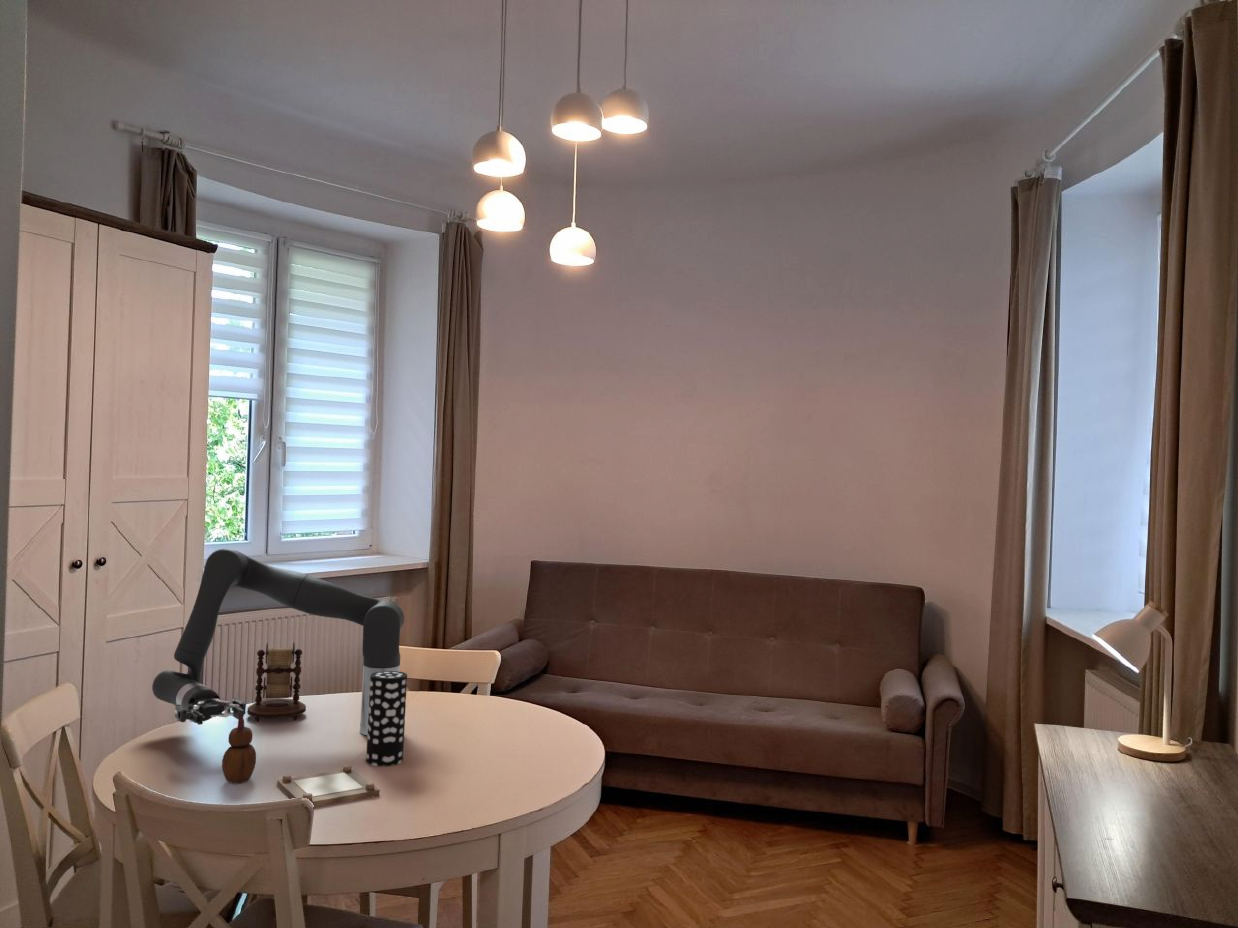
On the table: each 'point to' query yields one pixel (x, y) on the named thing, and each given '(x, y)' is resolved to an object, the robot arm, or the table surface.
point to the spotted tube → (386, 718)
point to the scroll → (278, 685)
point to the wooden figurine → (239, 754)
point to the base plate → (328, 787)
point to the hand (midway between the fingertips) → (221, 717)
